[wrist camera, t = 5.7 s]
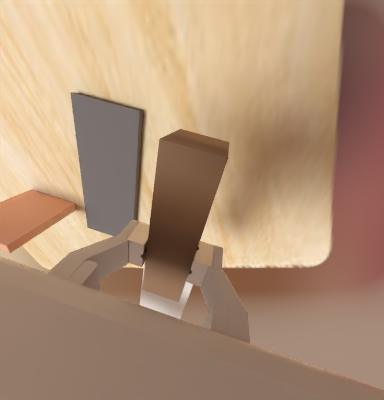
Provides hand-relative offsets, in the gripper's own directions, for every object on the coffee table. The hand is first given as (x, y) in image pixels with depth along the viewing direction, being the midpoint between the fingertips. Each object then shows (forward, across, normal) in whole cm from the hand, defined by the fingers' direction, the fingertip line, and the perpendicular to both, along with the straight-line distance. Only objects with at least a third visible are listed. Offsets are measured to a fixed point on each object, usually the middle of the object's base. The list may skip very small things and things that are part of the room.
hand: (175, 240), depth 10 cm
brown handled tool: (+2, 0, +2) cm, 3 cm away
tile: (+14, +26, +14) cm, 33 cm away
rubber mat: (+14, +14, +6) cm, 21 cm away
